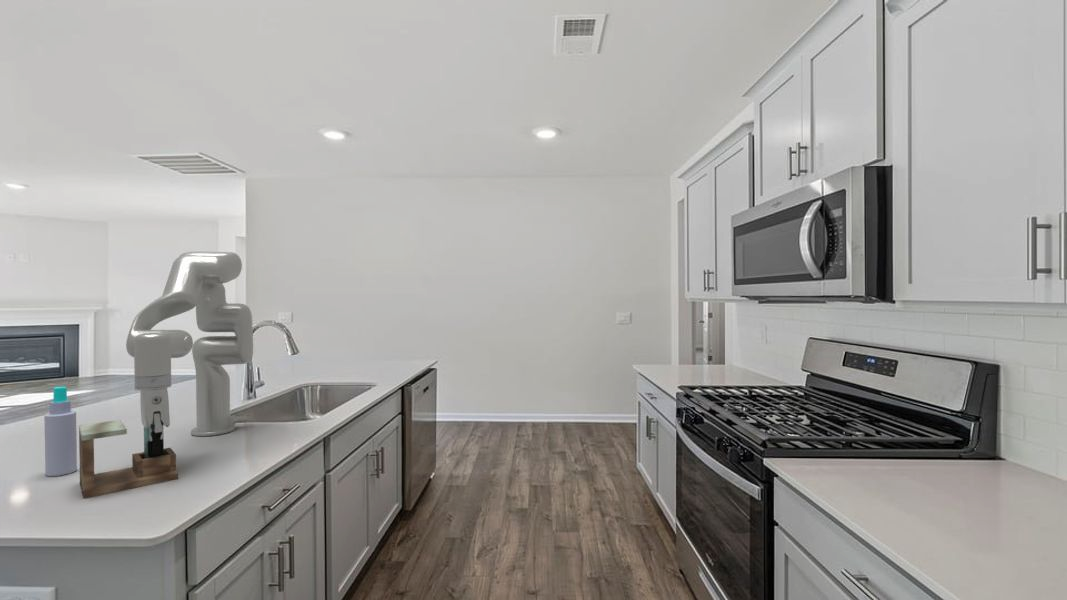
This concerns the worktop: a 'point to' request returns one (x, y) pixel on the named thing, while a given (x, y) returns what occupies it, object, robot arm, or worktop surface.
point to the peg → (146, 439)
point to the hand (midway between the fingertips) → (154, 453)
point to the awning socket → (119, 479)
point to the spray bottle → (60, 436)
